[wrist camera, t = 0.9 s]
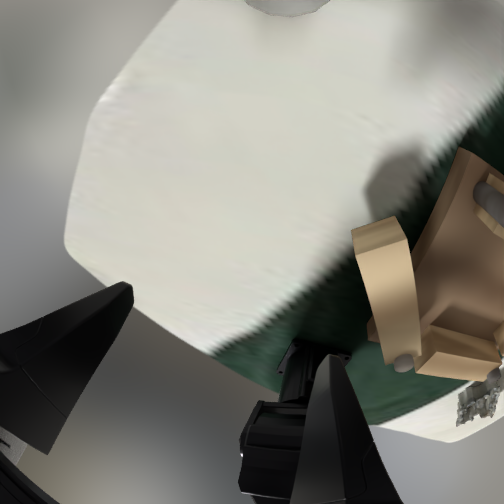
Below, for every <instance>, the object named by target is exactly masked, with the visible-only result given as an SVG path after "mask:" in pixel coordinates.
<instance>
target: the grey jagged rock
mask: <svg viewBox="0 0 504 504" xmlns="http://www.w3.org/2000/svg"><path fill="white" fill-rule="evenodd" d="M499 395H500V386H499V387H498V386H497V384H496V382H494V383H491V384H489V383H488V380H487V379H486V380H485V381H484V382H483V383H482V384H480V385H479V386H476V387H472V386H470V387H468V388H466V389H465V390H464V391H463V392H462V393H460V394H458V399H459V402H458V410H457V415H458V419H457V421H456V427H457V426H459V425H460V424H465V422H466V421H469V420H471V421H473V419H474V418H473V417H474V416H476V415H478V414H479V415H480V417H481V418H485V417H487V416H490V417H491V418H492V417H493V415H494V413H495V409H496V404H497V400H498V397H499ZM485 397H487V400H485ZM470 405H472V406H471V407H470V408H468V410H467V406H470Z"/></svg>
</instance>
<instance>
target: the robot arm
mask: <svg viewBox="0 0 504 504" xmlns="http://www.w3.org/2000/svg"><path fill="white" fill-rule="evenodd" d="M133 304H134V295H133V287H132V285H131V284H128V283H126V282H124V281H122V282H119V283H116V284H114V285H112V286H110V287H107V288H105V289H103V290H101V291H98V292H96V293H94V294H92V295H89V296H87V297H85V298H83V299H80V300H78V301H76V302H74V303H72V304H70V305H67V306H65V307H63V308H61V309H58V310H56V311H54V312H52V313H50V314H48V315H46V316H44V317H41V318H39V319H37V320H35V321H32V322H30V323H28V324H26V325H23V326H21V327H18V328H16V329H13V330H10V331H7V332H4V333H2V334H0V504H60V503H58V502H57V501H56V500H54V499H53V498H52V497H50V496H49V495H48V494H47V493H45V492H44V491H43V490H42V489H40V488H39V487H38V486H37V485H36V484H35V483H33V482H32V481H31V480H30V479H29V478H28V477H27V476H25V475H24V474H23V473H22V472H21V471H20V470H19V469H18V468H17V467H16V464H17V462H18V461H19V459H20V457H21V455H22V453H23V451H24V450H25V448H26V446H27V445H30V446H32V447H33V448H35V449H37V450H39V451H40V452H42V453H44V454H46V455H48V454H49V452H50V450H51V448H52V446H53V444H54V442H55V440H56V439H57V436H58V435H59V433H60V431H61V429H62V427H63V425H64V424H65V422H66V420H67V418H68V416H69V414H70V412H71V411H72V409H73V407H74V406H75V404H76V402H77V400H78V399H79V397H80V395H81V394H82V392H83V390H84V389H85V387H86V385H87V384H88V382H89V380H90V379H91V377H92V375H93V374H94V372H95V370H96V369H97V367H98V366H99V364H100V362H101V361H102V359H103V358H104V356H105V355H106V353H107V352H108V350H109V348H110V347H111V345H112V344H113V342H114V341H115V339H116V337H117V336H118V334H119V332H120V330H121V328H122V326H123V324H124V322H125V320H126V318H127V316H128V314H129V312H130V311H131V309H132V307H133ZM351 358H352V355H351V353H349V352H345V351H340V350H336V349H333V348H329V347H325V346H321V345H317V344H314V343H310V342H306V341H303V340H299V339H294V340H293V341H292V342H291V344H290V346H289V348H288V350H287V352H286V354H285V355H284V357H283V359H282V361H281V363H280V364H279V366H278V368H277V371H276V372H277V373H278V374H280V375H283V380H282V385H281V390H280V394H279V399H278V402H265V401H260V400H259V401H258V402H257V404H256V406H255V407H254V409H253V412H252V413H251V415H250V417H249V420H248V422H247V424H246V425H245V427H244V429H243V431H242V433H241V436H240V439H239V443H240V453H241V456H242V458H243V460H242V467H241V472H240V476H239V480H238V484H239V487H240V490H241V492H242V493H246V494H250V495H251V497H252V499H253V501H254V503H255V504H404V503H403V502H402V500H401V499H400V497H399V495H398V493H397V491H396V489H395V487H394V485H393V483H392V481H391V479H390V477H389V475H388V473H387V471H386V469H385V467H384V464H383V462H382V460H381V457H380V455H379V452H378V450H377V447H376V445H375V443H374V442H373V441H374V440H373V437H372V434H371V432H370V429H369V427H368V424H367V421H366V419H365V416H364V414H363V411H362V409H361V406H360V404H359V401H358V399H357V396H356V394H355V392H354V389H353V387H352V384H351V382H350V380H349V377H348V375H347V372H346V370H345V368H344V367H345V366H346V365H347V364H348V362H349V361H350V360H351Z"/></svg>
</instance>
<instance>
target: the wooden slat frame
mask: <svg viewBox="0 0 504 504" xmlns="http://www.w3.org/2000/svg"><path fill="white" fill-rule="evenodd" d="M410 256H411V262H412V268H413V274H414V280H415V287H416V294H417V302H418V311H419V322H420V335H421V355H420V356H417V357H413V359H414V366H415V373H420V374H426V375H433V376H440V377H447V378H455V379H463V380H472V381H483V382H484V381H485V380H486V379H487V380H488V383H489V384H491V383H494V382H496V381H497V380H498V379H499V378H500V377H501V374H500V370H499V367H500V366H501V365H502V361H501V358H500V356H499V353H498V349H500V352H501V355H502V356H504V175H502V174H501V173H500V172H499V171H497V170H496V169H495V168H493V167H492V166H490V165H489V164H488V163H486V162H485V161H483V160H482V159H481V158H479V157H478V156H476V155H475V154H473V153H472V152H470V151H467V150H465V149H463V148H461V147H458V150H457V153H456V155H455V158H454V161H453V164H452V166H451V169H450V171H449V174H448V177H447V179H446V181H445V184H444V186H443V189H442V191H441V193H440V196H439V198H438V200H437V202H436V205H435V207H434V209H433V211H432V213H431V215H430V217H429V219H428V222H427V224H426V226H425V228H424V230H423V232H422V233H421V235H420V237H419V239H418V241H417V243H416V245H415V247H414V249H413V250H412V252H411V254H410ZM367 333H368V340H369V341H373V342H377V343H380V339H379V335H378V331H377V327H376V323H375V319H374V316H373V315H372V317H371V318H370V320H369V321H368V323H367Z"/></svg>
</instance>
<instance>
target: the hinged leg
mask: <svg viewBox="0 0 504 504" xmlns="http://www.w3.org/2000/svg"><path fill="white" fill-rule="evenodd" d="M351 233H352V239H353V245H354V251H355V256H356V259H357V262H358V265H359V268H360V272H361V275H362V278H363V281H364V284H365V288H366V291H367V294H368V298H369V301H370V305H371V308H372V312H373V316H374V319H375V323H376V327H377V331H378V335H379V339H380V343H381V347H382V352H383V356H384V361H385V365H387V364H391V363H394V368H395V371H397V372H405V371H408V370H410V369H411V368H412V367H413V366H414V359H413V357H417V356H420V355H421V335H420V322H419V311H418V302H417V294H416V287H415V280H414V274H413V268H412V262H411V256H410V251H409V246H408V241H407V238H406V236H405V234H404V232H403V230H402V228H401V226H400V224H399V223H398V221H397V219H396V217H395V216H392V217H389V218H386V219H383V220H380V221H377V222H374V223H371V224H368V225H365V226H362V227H358V228H355V229H352V230H351Z"/></svg>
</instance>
